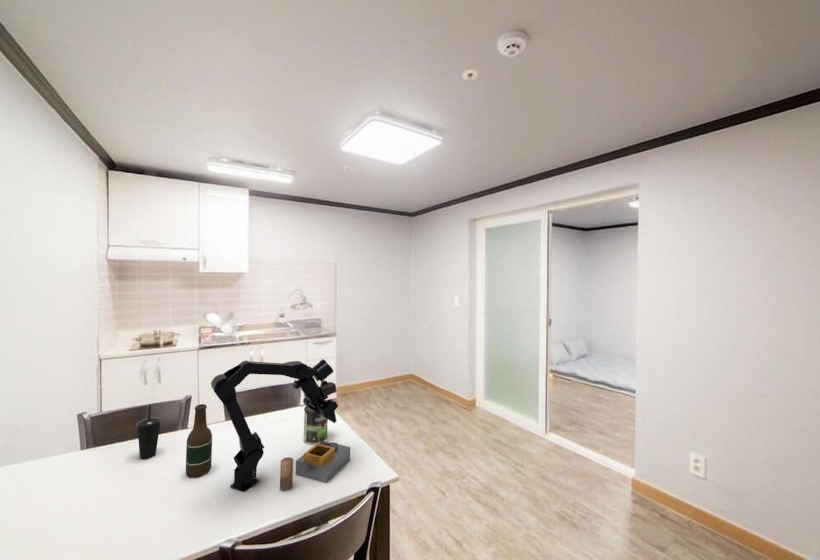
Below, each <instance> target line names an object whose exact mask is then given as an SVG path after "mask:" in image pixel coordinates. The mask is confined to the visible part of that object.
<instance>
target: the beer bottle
mask: <svg viewBox="0 0 820 560" xmlns="http://www.w3.org/2000/svg"><path fill="white" fill-rule="evenodd" d="M207 406H208V405H207V404H204V403H201V404H197V405H195V406H194V421H193V426H192V429H191V431H190V433H189V434H188V436H187V438H186V449H185V452H186V453H185V475H186V476H187V477H188V478H189V479H192V478H193V479H194V478H201V477H202V476H205V475H206V474H207V475H208V473H209V472H210V470H211V469H212V460H213V459H212V458H213V457H212V456H213V434H212V431H211V428H209V427H208V424H207V423H208V422H207V408H208V407H207Z"/></svg>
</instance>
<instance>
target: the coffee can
mask: <svg viewBox="0 0 820 560" xmlns="http://www.w3.org/2000/svg"><path fill="white" fill-rule="evenodd" d="M303 410H304V414H303V415H304V416H303V417H304V419H303V440H304V441H303V443H304V444H307V443H308V444H307V445H312V444H313V445H316V444H317V443H320V442H322V441H325V440H326V439H327V440H328V421H329V420H328V419H327V418H325V417H323V416H322V415H320V414H319V413H317V412H315V411H314V410H312V409H310V408H309V407H307V406H306V405H305V406H304V409H303ZM327 440H326V441H327ZM326 441H325V442H326Z"/></svg>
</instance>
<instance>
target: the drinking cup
mask: <svg viewBox="0 0 820 560" xmlns="http://www.w3.org/2000/svg"><path fill="white" fill-rule="evenodd" d="M151 414H152V404H148V414H147V415H148V417H145V418H143V419H141V420H139V421H137V422H136V424H135V425H136V427H137V441H138V450H139V451H138V452H139V459H140V460H149V459H152V458H154V457H155V456H156V455H157V449H158V442H159V435H160V428H161V427H160V426H161V421H162V418H161V417H158V416H157V417H156V416H151Z"/></svg>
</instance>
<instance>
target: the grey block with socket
mask: <svg viewBox="0 0 820 560" xmlns="http://www.w3.org/2000/svg"><path fill="white" fill-rule="evenodd" d="M349 460H350V461H351V446H348V445H347V446H346V445H342V444H338V442H335V441H334V442H333V441H331V442H329V441H322V442H320V443H319V444H314V446H312V447H310V448H309V449H308V450H307V451H305V452H304V453H303V454H302V456H300V457H299V458H297V459H296V460H295V473H294V474H295V476H299V477H303V478H306V479H310V480H313V481H318V482H320V483H325V484H327V483H328V482H329V481H330V480H331V479H332V478H333V477H334V476H335V475H336V474H337V473H338V472H340V470H341V469H342V468H344V466H345V465H346V464H348V463H349Z"/></svg>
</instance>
